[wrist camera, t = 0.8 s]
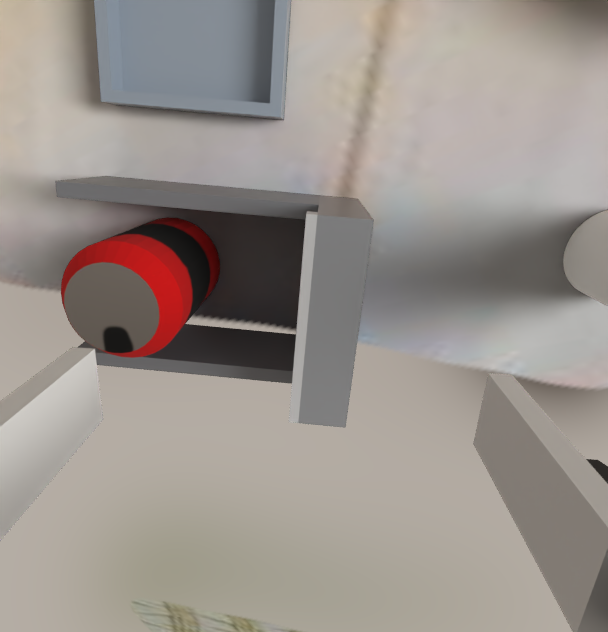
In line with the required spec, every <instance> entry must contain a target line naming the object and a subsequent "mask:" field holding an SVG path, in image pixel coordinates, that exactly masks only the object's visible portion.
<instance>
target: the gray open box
mask: <svg viewBox="0 0 608 632" xmlns="http://www.w3.org/2000/svg"><path fill="white" fill-rule="evenodd" d="M55 183H56V192H57V197H62V198H73V199H84V200H95V201H106V202H117V203H128V204H139V205H150V206H161V207H172V208H183V209H194V210H205V211H216V212H227V213H238V214H249V215H260V216H271V217H282V218H293V219H304V220H306V222H305V234H304V246H303V258H302V270H301V282H300V294H299V306H298V318H297V330H296V335H295V334H284V333H274V332H262V331H252V330H241V329H230V328H221V327H210V326H199V325H189V324H185V325H184V326H183V327H182V328H181V330H180V331H179V332H178V333H177V334H176V336H175V337H174V338H173V339H172V340H171V341H170V342H169V343H168V344H167V345H166V346H165V347H164V348H162V349H161V350H159V351H157V352H155V353H153V354H150V355H147V356H144V357H135V358H130V357H120V356H116V355H112V354H109V353H106V352H104V351H102V350H99V349H98V348H96V347H94V346H92V345H91V344H89V343H87V342H86V341H85V342H84V343H83V344H81V345H80V346H79V347H77V348H92V349H95V354H96V363H97V365H104V366H115V367H126V368H136V369H147V370H156V371H167V372H178V373H188V374H198V375H210V376H219V377H229V378H241V379H251V380H261V381H271V382H282V383H292V390H291V402H290V415H289V422H293V423H305V424H315V425H324V426H335V427H346V419H347V412H348V405H349V397H350V390H351V383H352V376H353V369H354V361H355V354H356V347H357V339H358V332H359V325H360V317H361V310H362V303H363V295H364V288H365V281H366V273H367V266H368V258H369V251H370V244H371V236H372V229H373V222H374V220H373V218H372V217H371V216H370V214H369V213H368V212H367V210H366V209H365V208H364V206H363V205H362V204H361V202H360V201H359V200H358V199H355V198H344V197H332V196H321V195H310V194H299V193H288V192H277V191H266V190H255V189H244V188H233V187H221V186H210V185H199V184H188V183H177V182H166V181H155V180H144V179H133V178H121V177H110V176H102V177H92V178H81V179H71V180H61V181H55Z"/></svg>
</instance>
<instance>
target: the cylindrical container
mask: <svg viewBox="0 0 608 632" xmlns="http://www.w3.org/2000/svg"><path fill="white" fill-rule="evenodd" d="M563 266H564V271H565V275H566V277H567V279H568V281H569V282H570V283H571V284H572V286H573V287H574V288H575V289H577V290H579V291H580V292H582V293H584V294H586V295H587V296H589V297H591V298H593V299H595V300H597V301H599V302H600V303H602V304H604V305H606V306H608V210H606V211H602V212H600V213H598V214H595V215H594V216H592V217H590V218H589V219H587V220H586V221H585V222H584V223H582V224H581V225H580V226H579V227H578V228H577V229H576V231H575V232H574V233H573V234H572V236H571V238H570V239H569V241H568V243H567V245H566V249H565V252H564V258H563Z"/></svg>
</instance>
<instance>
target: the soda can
mask: <svg viewBox="0 0 608 632" xmlns="http://www.w3.org/2000/svg"><path fill="white" fill-rule="evenodd" d="M219 272H220V261H219V257H218V253H217V250H216V248H215V246H214V244H213V242H212V241H211V239H210V238H209V236H208V235H207V234H206V233H205V232H204V231H203V230H202V229H200V228H199V227H197V226H196V225H195V224H192V223H190V222H188V221H186V220H182V219H178V218H162V219H157V220H155V221H152V222H149V223H147V224H144V225H142V226H139V227H137V228H134V229H131V230H129V231H126V232H124V233H121V234H118V235H116V236H113V237H111V238H108V239H105V240H103V241H100V242H98V243H95V244H93V245H90V246H87V247H86V248H84V249H83V250H81V251H80V252H78V253H77V254H76V255H75V256H74V257H73V258H72V260H71V261H70V262H69V264H68V266H67V268H66V269H65V272H64V275H63V279H62V285H61V295H62V303H63V306H64V309H65V312H66V315H67V318H68V320H69V322H70V324H71V325H72V327H73V328H74V330H75V331H76V332H77V333H78V335H79V336H80V337H81V338H83V339H84V340H85V341H86V342H87V343H89V344H91V345H92V346H94V347H96V348H98V349H99V350H102V351H104V352H106V353H109V354H112V355H116V356H120V357H130V358H135V357H144V356H147V355H150V354H153V353H155V352H157V351H159V350H161V349H162V348H164V347H165V346H166V345H167V344H168V343H169V342H170V341H171V340H172V339H173V338H174V337H175V336H176V334H177V333H178V332H179V331H180V330H181V328H182V327H183V326H184V325H185V323H186V322H187V321H188V320H189V319H190V317H191V316H192V315H193V314H194V313H195V311H196V310H197V309H198V308H199V307H200V305H201V304H202V303H203V302H204V300H205V299H206V298H207V297H208V296H209V294H210V293H211V292H212V290H213V289H214V287H215V286H216V283H217V281H218V277H219Z"/></svg>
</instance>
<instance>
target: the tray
mask: <svg viewBox="0 0 608 632" xmlns="http://www.w3.org/2000/svg"><path fill="white" fill-rule="evenodd" d="M94 7H95V21H96V36H97V51H98V65H99V80H100V94H101V102H106V103H110V104H114V105H120V106H132V107H143V108H154V109H166V110H177V111H189V112H200V113H211V114H223V115H234V116H245V117H257V118H268V119H280V120H284V109H285V93H286V77H287V61H288V45H289V28H290V12H291V0H94Z"/></svg>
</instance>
